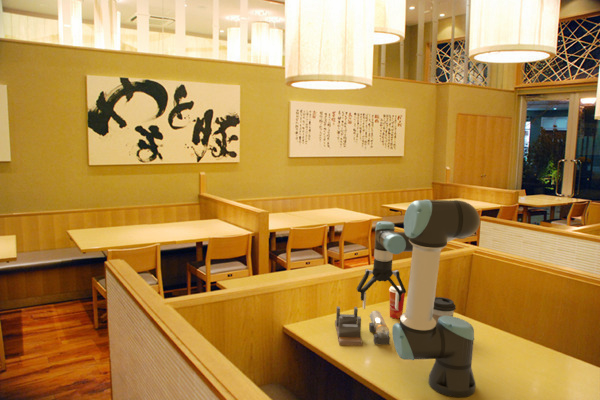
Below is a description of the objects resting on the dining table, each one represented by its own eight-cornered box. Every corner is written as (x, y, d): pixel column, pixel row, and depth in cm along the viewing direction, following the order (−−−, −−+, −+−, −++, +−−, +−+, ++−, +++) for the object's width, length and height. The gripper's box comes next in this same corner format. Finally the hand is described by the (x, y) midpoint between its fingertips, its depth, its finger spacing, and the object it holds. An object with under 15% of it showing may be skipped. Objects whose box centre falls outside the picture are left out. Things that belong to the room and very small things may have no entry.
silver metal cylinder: (389, 338, 192) (389, 326, 192) (376, 339, 192) (376, 326, 191) (381, 321, 210) (381, 310, 209) (369, 322, 210) (369, 310, 209)
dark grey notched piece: (361, 345, 192) (362, 322, 191) (339, 344, 192) (340, 322, 191) (354, 323, 214) (355, 303, 213) (334, 323, 214) (335, 303, 213)
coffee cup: (459, 337, 203) (462, 303, 201) (437, 341, 199) (439, 306, 196) (442, 327, 213) (444, 295, 211) (420, 330, 209) (423, 297, 207)
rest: (389, 344, 194) (389, 337, 194) (374, 344, 194) (375, 337, 194) (382, 329, 209) (383, 323, 209) (369, 329, 209) (369, 322, 208)
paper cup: (384, 314, 226) (385, 286, 224) (397, 312, 230) (399, 284, 228) (394, 320, 219) (395, 291, 217) (407, 318, 223) (409, 289, 221)
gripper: (411, 257, 201) (407, 305, 204) (351, 255, 200) (349, 304, 204) (415, 262, 193) (412, 312, 197) (354, 260, 193) (351, 310, 196)
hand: (380, 308), depth 200 cm, fingers open, 13 cm apart
